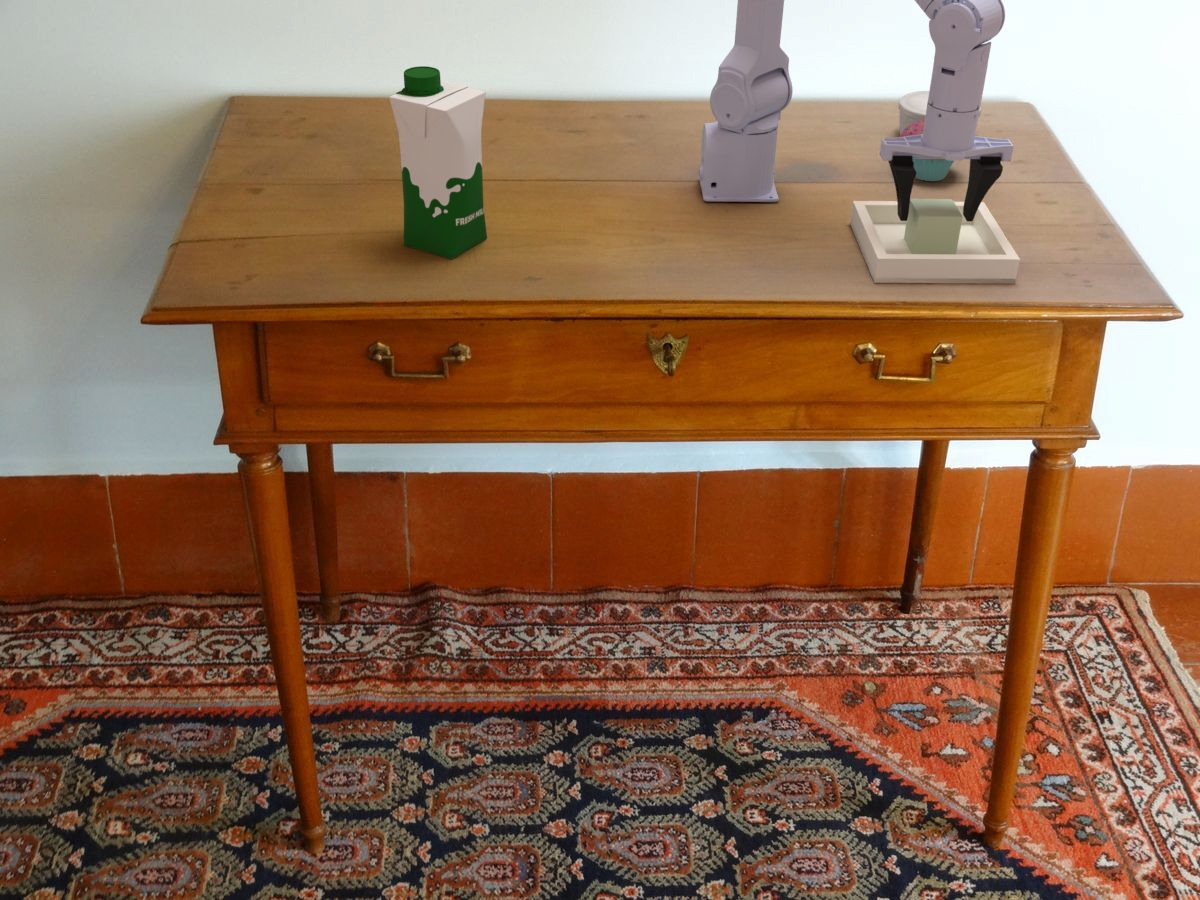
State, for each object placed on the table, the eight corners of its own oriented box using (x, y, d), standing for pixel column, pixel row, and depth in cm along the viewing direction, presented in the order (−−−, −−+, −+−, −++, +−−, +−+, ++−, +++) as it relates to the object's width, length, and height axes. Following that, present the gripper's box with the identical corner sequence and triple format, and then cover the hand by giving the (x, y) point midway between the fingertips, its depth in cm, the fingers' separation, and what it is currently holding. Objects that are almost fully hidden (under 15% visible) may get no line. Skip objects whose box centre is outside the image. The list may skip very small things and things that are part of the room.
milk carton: (438, 220, 164) (429, 57, 153) (498, 238, 160) (494, 72, 149) (392, 246, 158) (379, 78, 147) (454, 265, 154) (445, 94, 143)
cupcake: (959, 189, 175) (975, 99, 168) (893, 183, 176) (906, 93, 170) (958, 165, 182) (973, 77, 175) (894, 159, 183) (907, 72, 177)
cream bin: (874, 282, 152) (877, 258, 150) (850, 223, 165) (852, 200, 164) (1015, 283, 153) (1020, 259, 151) (979, 224, 166) (983, 201, 164)
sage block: (912, 256, 157) (919, 216, 154) (903, 238, 161) (909, 198, 158) (955, 256, 157) (962, 216, 154) (945, 238, 161) (952, 199, 158)
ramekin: (986, 136, 192) (992, 100, 189) (958, 160, 184) (964, 123, 181) (911, 120, 196) (917, 84, 194) (881, 143, 189) (886, 106, 186)
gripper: (895, 115, 145) (879, 231, 153) (1029, 116, 146) (1006, 232, 153) (883, 93, 151) (868, 206, 159) (1011, 95, 152) (990, 207, 159)
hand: (934, 217), depth 157 cm, fingers open, 7 cm apart
